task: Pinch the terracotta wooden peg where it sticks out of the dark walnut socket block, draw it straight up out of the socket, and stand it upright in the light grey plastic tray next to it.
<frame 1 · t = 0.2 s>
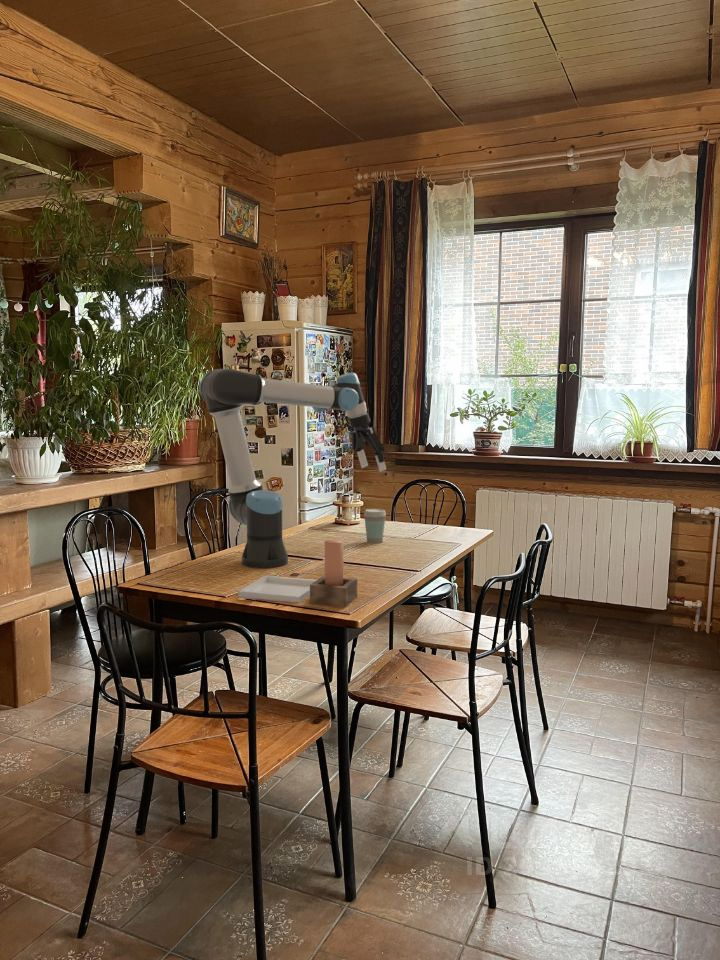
hand: (373, 468, 276), 28 cm above the table, tool tilted 20°, fingers open, 13 cm apart
peg: (333, 600, 199), point 1 cm above the table, touching socket block
coffee cup: (374, 542, 280), on the table
socket block: (333, 603, 199), on the table
tray: (281, 594, 207), on the table
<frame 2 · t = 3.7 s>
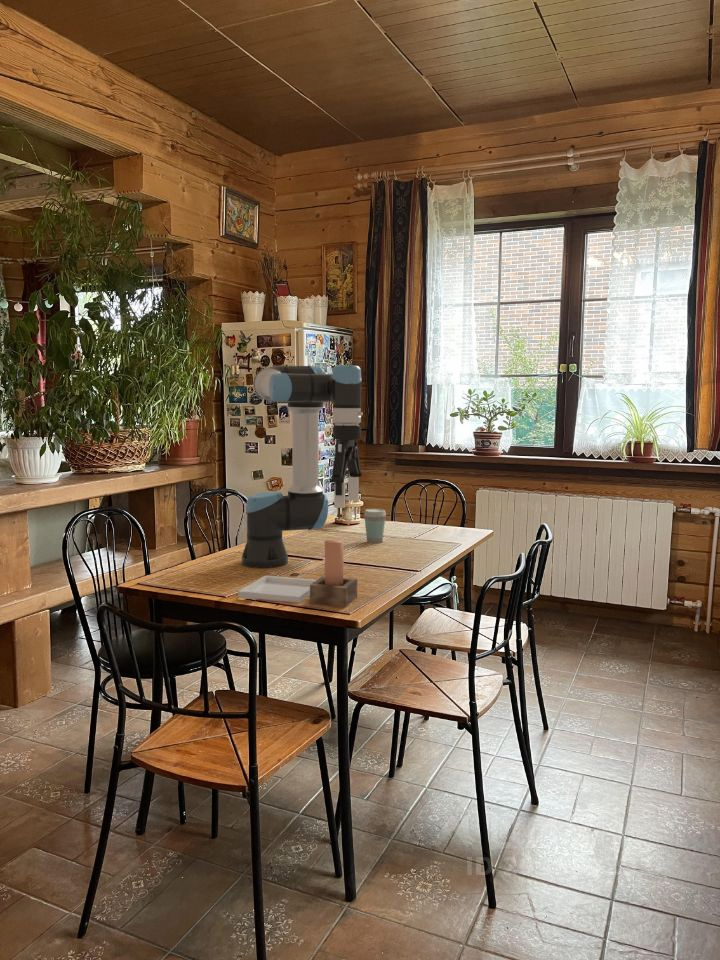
hand: (346, 504, 197), 27 cm above the table, tool pointing down, fingers open, 13 cm apart
nothing on the table moved.
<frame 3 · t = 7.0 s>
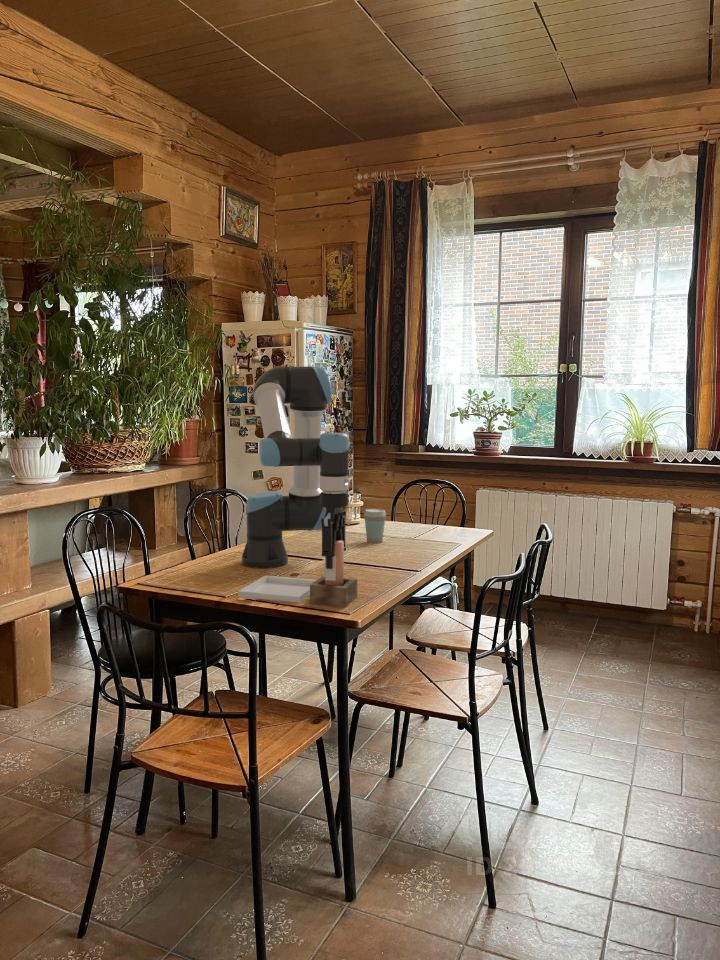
hand: (333, 577, 198), 7 cm above the table, tool pointing down, fingers closed on peg, 5 cm apart
peg: (333, 599, 199), point 1 cm above the table, touching gripper, socket block
everything else where it was.
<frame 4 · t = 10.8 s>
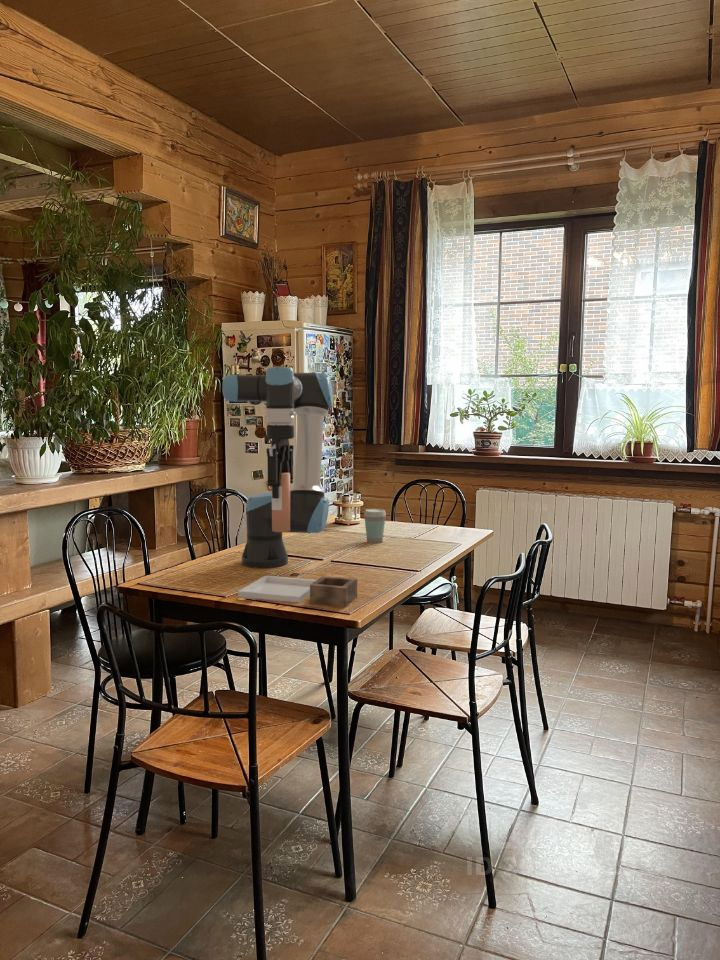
hand: (280, 508, 204), 25 cm above the table, tool pointing down, fingers closed on peg, 5 cm apart
peg: (281, 530, 205), point 18 cm above the table, touching gripper
everything else where it was.
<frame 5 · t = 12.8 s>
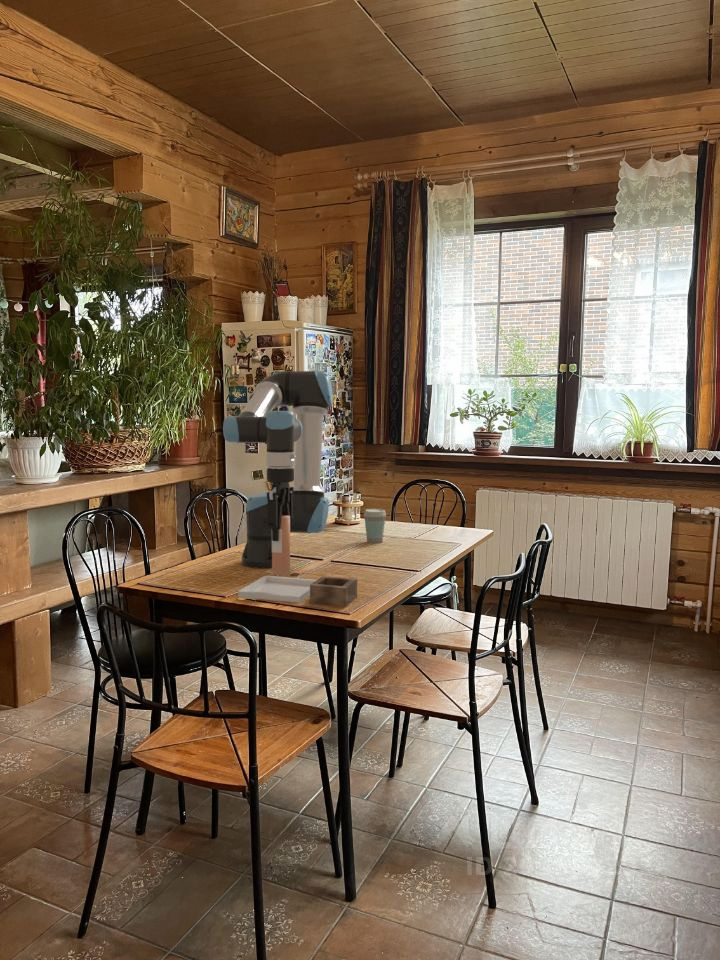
hand: (280, 550, 206), 13 cm above the table, tool pointing down, fingers closed on peg, 5 cm apart
peg: (281, 572, 206), point 6 cm above the table, touching gripper
everything else where it was.
when the fingers open (9 cm above the table, at t = 14.4 s): peg drops 1 cm, resting on tray.
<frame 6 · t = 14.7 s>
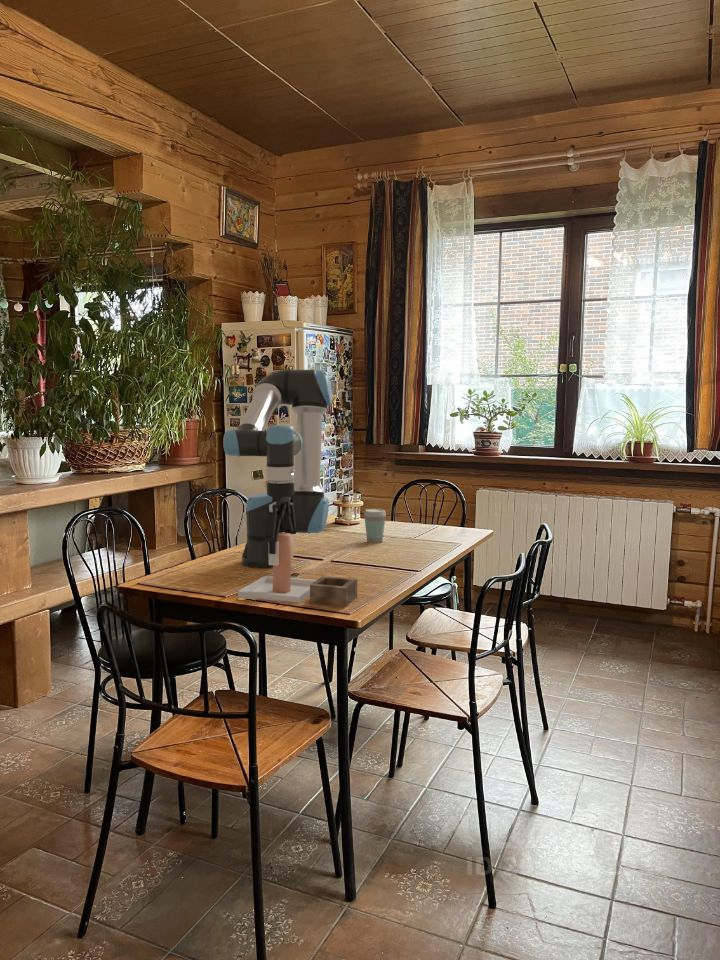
hand: (281, 560, 206), 10 cm above the table, tool pointing down, fingers open, 9 cm apart
peg: (281, 590, 207), point 1 cm above the table, touching tray
everything else where it was.
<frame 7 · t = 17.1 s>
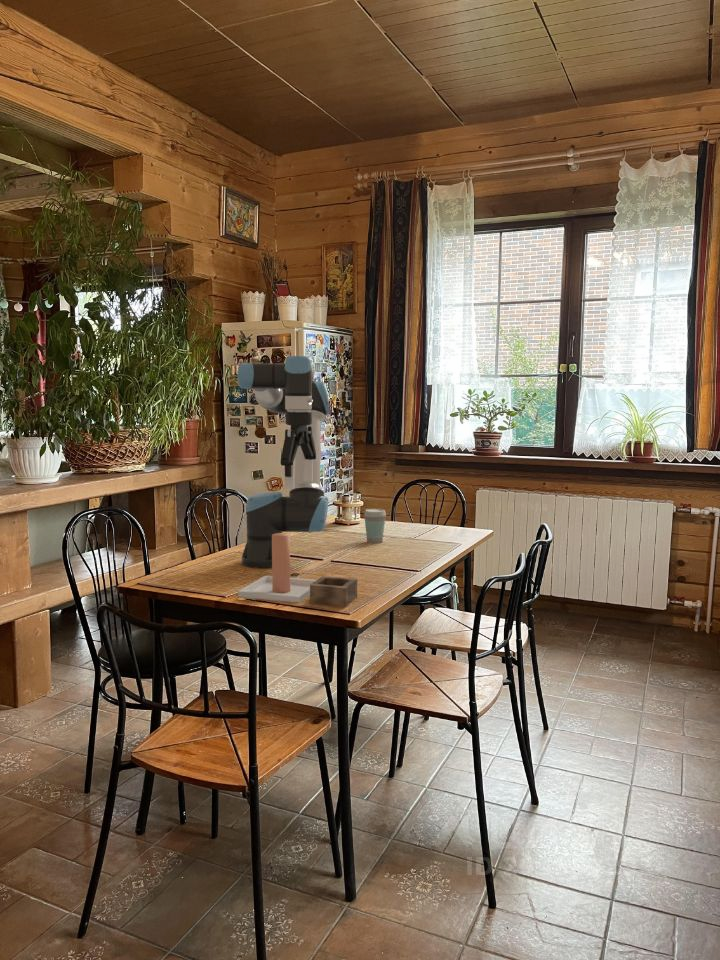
hand: (299, 484, 213), 30 cm above the table, tool pointing down, fingers open, 13 cm apart
nothing on the table moved.
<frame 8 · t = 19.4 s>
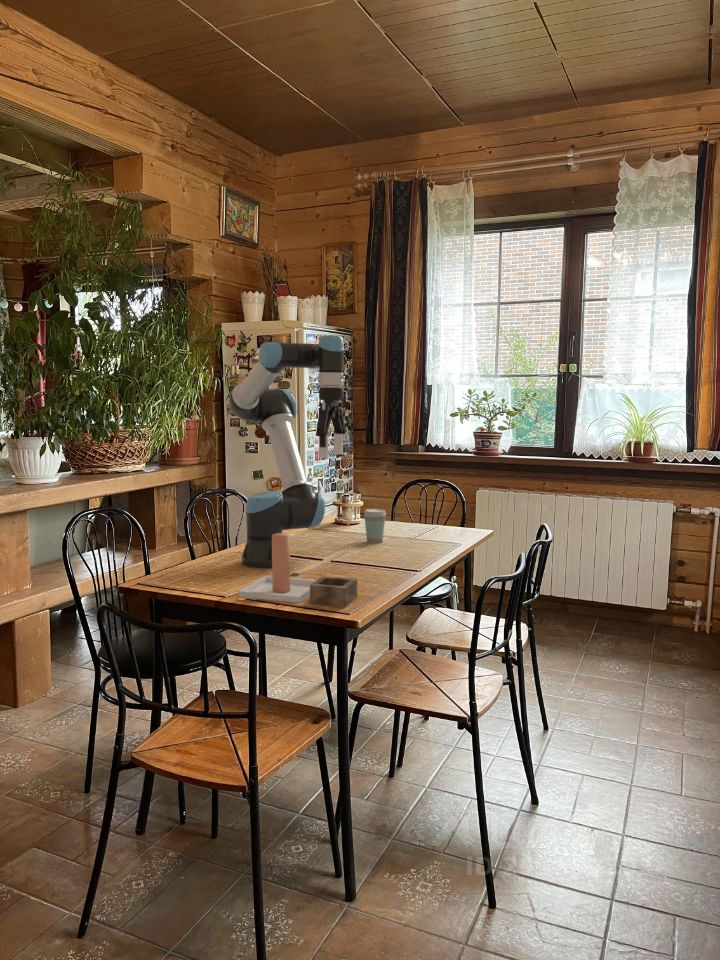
hand: (331, 456, 228), 37 cm above the table, tool pointing down, fingers open, 13 cm apart
nothing on the table moved.
at the end: peg inside the target area on the tray (0.0 cm from its centre), point 1.0 cm above the tray's base; peg tilted 0°; the gripper is holding nothing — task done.
